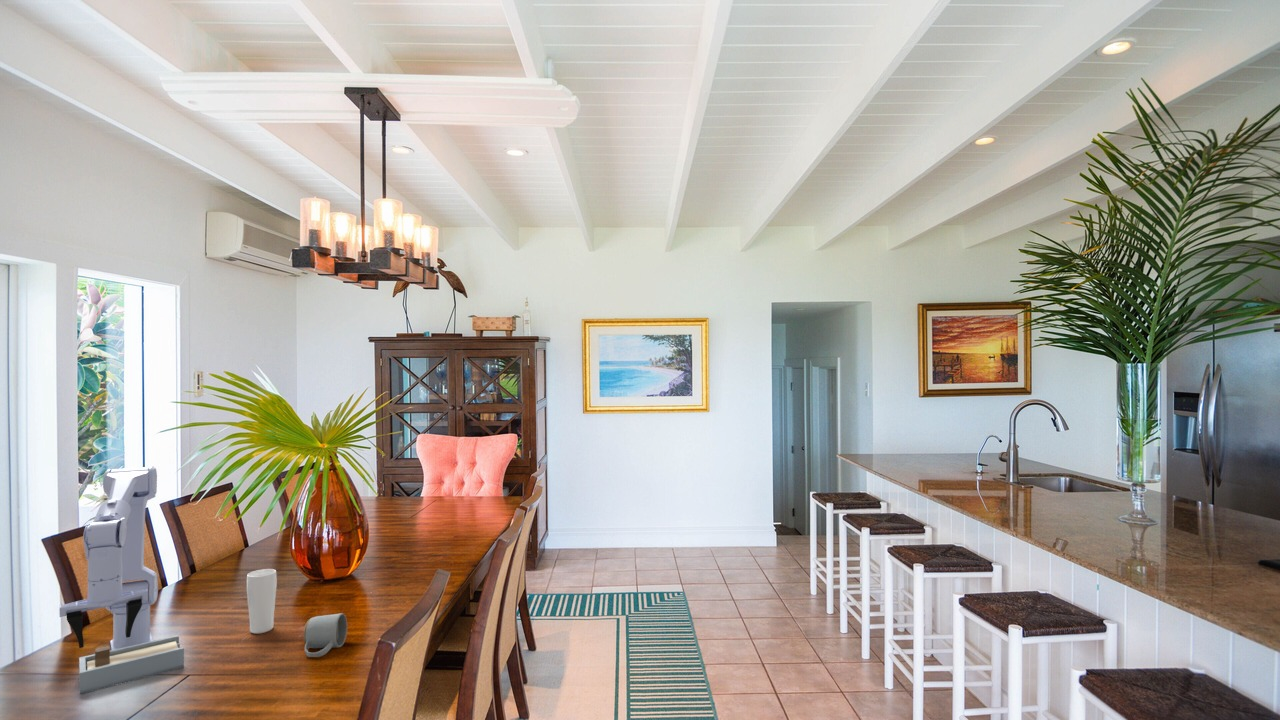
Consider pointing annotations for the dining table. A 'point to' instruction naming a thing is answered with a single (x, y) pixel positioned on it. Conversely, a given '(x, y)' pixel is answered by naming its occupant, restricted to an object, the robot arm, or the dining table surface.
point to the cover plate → (126, 654)
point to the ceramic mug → (325, 633)
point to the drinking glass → (261, 599)
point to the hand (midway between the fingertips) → (105, 641)
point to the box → (130, 666)
